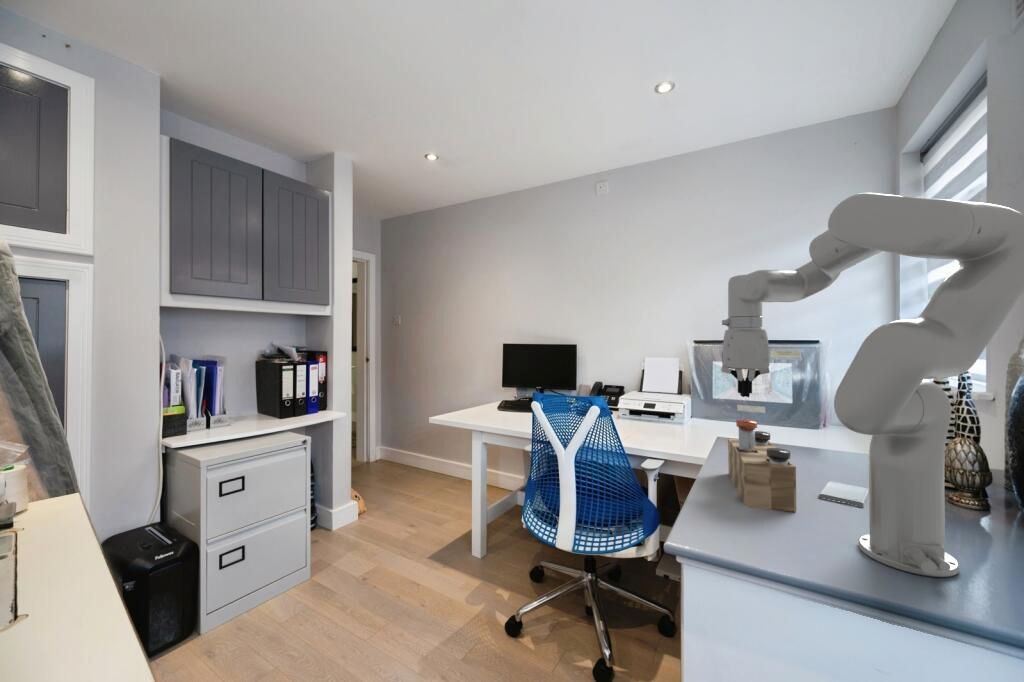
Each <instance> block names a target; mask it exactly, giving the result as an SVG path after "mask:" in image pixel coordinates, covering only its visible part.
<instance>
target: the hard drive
mask: <svg viewBox="0 0 1024 682" xmlns="http://www.w3.org/2000/svg"><path fill="white" fill-rule="evenodd" d="M819 497H820V498H819ZM818 498H819V499H821V498H825V499H824V500H826V499H830V500H829V501H831V500H835V501H840V502H845V503H849V504H853V505H852V506H854V505H857V506H856V507H859V506H861V507H860V508H863V507H865V505H866V503H865V502H867V500H868V498H869V488H866V487H863V486H857V485H852V484H845V483H842V482H836V481H830V480H829V481H827V482H826V484H825V485H824V486H823V488H822V490H821V491H820V493H819V494H818ZM835 501H834V502H835ZM840 502H839V503H840ZM845 503H844V504H845ZM849 504H848V505H849Z"/></svg>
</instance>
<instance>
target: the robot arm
mask: <svg viewBox="0 0 1024 682" xmlns="http://www.w3.org/2000/svg"><path fill="white" fill-rule="evenodd" d="M808 248H809V249H808V252H809V257H810V258H811V260H809V262H807V263H805V264H803V265H801V266H799V267H798V268H796V269H793V270H789V269H788V270H785V269H760V270H759V269H758V270H755V271H752V272H750V273H748V274H738V275H734V276H732V277H730V278H729V280H728V283H727V284H728V286H727V287H728V288H727V289H728V290H727V293H728V294H727V300H728V301H727V304H728V305H727V309H728V311H727V313H728V315H727V319H722V320H721V325H722V326H726V327H727V329H725V331H724V335H723V341H722V342H723V343H722V351H721V354H722V355H721V362H722V363H721V364H722V366H721V368H720V369H721V370H720V371H721V373H723V374H724V373H725V374H728V375H732V376H733V377H734V378H735V379H736V380H737V393H738V394H739V395H740V396H741V397H742V398H745V397H746V398H750V395H751V394H753V381H755V379H756V378H757V377H759V376H761V375H766V374H769V373H770V363H771V362H770V359H771V358H770V348H769V347H770V345H769V338H768V337H769V336H768V332H767V330H766V329H763V303H794V302H799V301H801V300H805V299H807V298H808V297H809V298H810V297H811V296H814V295H815V294H817V293H820V292H822V291H823V290H826V289H827V288H828V287H830V286H831V285H832V284H833V283H835V281H836V280H837V279H838V278H839V276H840V275H841V272H843V271H845V270H847V269H850V268H852V267H853V266H855V265H857V264H860V263H861V262H863V261H865V260H867V259H869V258H871V257H874V256H875V255H877V254H880V253H882V252H886V253H891V254H896V255H902V256H905V257H906V256H907V257H911V258H912V257H914V258H919V259H935V260H937V259H938V260H957V261H958V263H959V264H958V266H957V267H956V269H955V270H954V271H953V272H951V274H950V275H948V276H947V277H946V278H945V279H944V280H943V281H942V282H941V283H940V284H939V285H938V287H937V288H936V289H935V291H934V292H933V294H932V296H931V298H930V300H929V302H928V303H927V305H926V306H925V308H924V309H923V310H922V312H920V314H919V315H918V317H917V318H915V319H900V320H894V321H890V322H886V323H884V324H883V325H880V326H879V327H877V328H875V329H874V330H873V331H872V332H871V333H870V334H868V336H867V337H866V338H865V339H864V340H863V342H862V344H861V345H860V347H859V348H858V350H857V352H856V353H855V356H854V358H852V361H851V363H850V364H849V367H848V368H847V370H846V372H845V374H844V376H843V378H842V379H841V381H840V383H839V385H838V387H837V390H836V392H835V395H834V399H833V407H834V412H835V415H836V417H837V419H838V421H839V422H840V423H841V425H843V426H844V427H845V428H847V429H848V430H850V431H852V432H854V433H858V434H860V435H867V436H871V439H870V443H869V449H868V489H869V495H868V502H869V503H868V504H869V505H868V507H869V513H868V514H869V521H868V522H869V534H864V535H862V536H860V537H859V538H858V548H859V549H860V550H861V551H862V552H863V553H864V554H865V555H867V556H868V557H869V558H871V559H873V560H874V561H877V562H879V563H880V564H884V565H886V566H889V567H892V568H894V569H897V570H900V571H904V572H907V573H911V574H915V575H921V576H928V577H935V578H939V577H940V578H945V577H948V578H949V577H953V576H955V575H957V574H959V572H960V567H959V565H960V564H959V562H958V560H956V558H954V557H953V556H952V555H951V554H950V553H947V552H946V529H945V528H946V525H945V524H946V521H945V520H946V512H945V511H946V510H945V501H946V500H945V468H946V467H945V461H946V459H945V457H946V456H945V455H946V454H945V453H946V442H947V437H948V431H949V428H950V427H949V426H950V424H951V419H952V418H951V417H952V405H951V401H950V399H949V397H948V395H947V393H946V392H945V390H943V389H942V387H941V386H939V385H938V384H936V382H934V381H931V380H935V379H943V378H945V379H946V378H952V377H957V376H959V375H962V374H964V373H966V372H967V371H969V370H970V369H971V368H972V367H973V366H974V365H975V363H976V362H977V360H978V359H979V358H980V357H981V355H982V353H983V352H984V351H985V349H986V348H987V346H988V344H990V342H991V340H992V339H993V337H994V336H995V334H996V333H997V332H998V331H999V329H1000V327H1001V326H1002V324H1003V323H1004V321H1005V320H1006V319H1007V316H1008V315H1009V313H1010V312H1011V310H1012V309H1013V307H1014V306H1015V304H1016V303H1017V302H1018V300H1020V297H1022V295H1023V294H1024V214H1023V213H1021V212H1020V211H1017V210H1015V209H1013V208H1011V207H1007V206H1003V205H999V204H994V203H987V202H986V203H985V202H979V201H978V202H977V201H964V200H963V201H962V200H954V199H943V198H942V199H941V198H928V197H916V196H915V197H913V196H902V195H897V194H896V195H895V194H884V193H878V192H861V193H856V194H853V195H851V196H848V197H847V198H845V199H844V200H842V201H840V203H838V204H837V205H836V206H835V207H834V209H833V210H832V211H831V213H830V215H829V218H828V220H827V230H825V231H824V232H823V233H821V234H819V235H817V236H816V237H814V238H813V239H812V240H811V242H810V244H809V247H808ZM743 370H747V371H746V377H745V378H744V375H743Z"/></svg>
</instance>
